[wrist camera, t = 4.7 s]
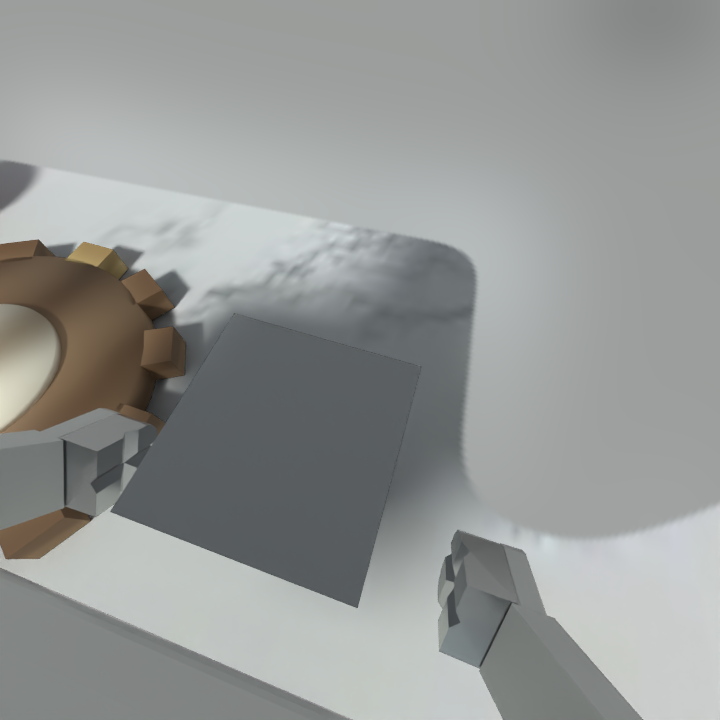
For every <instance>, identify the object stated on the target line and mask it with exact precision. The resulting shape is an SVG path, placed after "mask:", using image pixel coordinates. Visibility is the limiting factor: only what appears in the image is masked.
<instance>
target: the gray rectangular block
mask: <svg viewBox="0 0 720 720" xmlns="http://www.w3.org/2000/svg"><path fill="white" fill-rule="evenodd" d="M420 370H421V366H417V365H414V364H410V363H407V362H403V361H400V360H396V359H393V358H389V357H386V356H382V355H379V354H375V353H372V352H368V351H365V350H361V349H358V348H354V347H351V346H347V345H344V344H340V343H336V342H333V341H329V340H326V339H322V338H319V337H315V336H312V335H308V334H305V333H301V332H298V331H294V330H291V329H287V328H284V327H280V326H277V325H273V324H270V323H266V322H263V321H259V320H256V319H252V318H249V317H245V316H242V315H238V314H234V315H233V316H232V318H231V319H230V321H229V323H228V324H227V326H226V327H225V329H224V331H223V332H222V334H221V335H220V337H219V339H218V340H217V342H216V343H215V345H214V347H213V348H212V350H211V351H210V353H209V355H208V356H207V358H206V359H205V361H204V363H203V364H202V366H201V367H200V369H199V371H198V372H197V374H196V375H195V377H194V379H193V380H192V382H191V383H190V385H189V387H188V388H187V390H186V391H185V393H184V395H183V396H182V398H181V399H180V401H179V403H178V404H177V406H176V407H175V409H174V411H173V412H172V414H171V415H170V417H169V419H168V420H167V422H166V423H165V425H164V427H163V428H162V430H161V431H160V433H159V435H158V436H157V438H156V439H155V441H154V442H153V444H152V446H151V447H150V449H149V450H148V452H147V454H146V455H145V457H144V458H143V460H142V462H141V463H140V465H139V466H138V468H137V470H136V471H135V473H134V474H133V476H132V478H131V479H130V481H129V482H128V484H127V486H126V487H125V489H124V490H123V492H122V494H121V495H120V497H119V498H118V500H117V502H116V503H115V505H114V506H113V508H112V510H111V511H110V512H112V513H115V514H117V515H120V516H122V517H125V518H127V519H130V520H133V521H135V522H138V523H140V524H143V525H145V526H148V527H151V528H153V529H156V530H158V531H161V532H163V533H166V534H168V535H171V536H174V537H176V538H179V539H181V540H184V541H186V542H189V543H192V544H194V545H197V546H199V547H202V548H204V549H207V550H210V551H212V552H215V553H217V554H220V555H222V556H225V557H227V558H230V559H233V560H235V561H238V562H240V563H243V564H245V565H248V566H251V567H253V568H256V569H258V570H261V571H263V572H266V573H268V574H271V575H274V576H276V577H279V578H281V579H284V580H286V581H289V582H292V583H294V584H297V585H299V586H302V587H304V588H307V589H310V590H312V591H315V592H317V593H320V594H322V595H325V596H327V597H330V598H333V599H335V600H338V601H340V602H343V603H345V604H348V605H351V606H353V607H356V608H358V604H359V601H360V597H361V593H362V589H363V585H364V582H365V578H366V574H367V570H368V567H369V563H370V559H371V555H372V551H373V548H374V544H375V540H376V536H377V533H378V529H379V525H380V521H381V517H382V514H383V510H384V506H385V502H386V498H387V495H388V491H389V487H390V483H391V480H392V476H393V472H394V468H395V464H396V461H397V457H398V453H399V449H400V446H401V442H402V438H403V434H404V430H405V427H406V423H407V419H408V415H409V412H410V408H411V404H412V400H413V396H414V393H415V389H416V385H417V381H418V378H419V374H420Z"/></svg>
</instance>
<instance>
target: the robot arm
mask: <svg viewBox="0 0 720 720" xmlns="http://www.w3.org/2000/svg"><path fill="white" fill-rule="evenodd" d="M156 438H157V429H156V428H155V427H154V426H153V425H151V424H149V423H146V422H143V421H140V420H138V419H135V418H132V417H130V416H127V415H124V414H121V413H118V412H116V411H113V410H110V409H107V408H98V409H96V410H93V411H91V412H88V413H86V414H83V415H81V416H78V417H76V418H73V419H71V420H68V421H66V422H63V423H60V424H58V425H55V426H53V427H50V428H48V429H45V430H43V431H40V432H39V431H36V430H29V431H20V432H12V433H3V434H0V530H2V529H5V528H8V527H11V526H14V525H17V524H20V523H22V522H25V521H28V520H31V519H34V518H37V517H40V516H43V515H45V514H48V513H51V512H54V511H57V510H60V509H63V508H64V506H66V507H69V508H71V509H74V510H77V511H80V512H83V513H86V514H88V515H91V516H94V517H97V516H98V515H100V514H101V513H102V512H104V511H105V510H107V509H108V508H109V507H111V506H112V505H114V504H115V503H116V502H117V500H118V498H119V497H120V495H121V494H122V492H123V490H124V489H125V487H126V486H127V484H128V482H129V481H130V479H131V478H132V476H133V474H134V473H135V471H136V470H137V468H138V466H139V465H140V463H141V462H142V460H143V458H144V457H145V455H146V454H147V452H148V450H149V449H150V447H151V446H152V444H153V442H154V441H155V439H156ZM451 551H452V554H451V555H449V556H447V557H445V560H444V563H443V565H442V568H441V573H440V577H439V583H438V602H439V604H440V606H441V607H442V612H441V614H440V617H439V619H438V631H439V652H442V653H444V654H447V655H449V656H451V657H454V658H456V659H458V660H461V661H463V662H465V663H468V664H470V665H472V666H475V667H477V668H479V669H480V670H479V672H480V674H481V676H482V678H483V680H484V682H485V684H486V686H487V688H488V690H489V692H490V694H491V696H492V698H493V700H494V702H495V704H496V706H497V708H498V710H499V712H500V714H501V716H502V718H503V720H643V719H642V718H641V717H640V716H639V714H638V713H637V712H636V711H635V710H634V709H633V708H632V706H631V705H630V704H629V703H628V702H627V701H626V700H625V698H624V697H623V696H622V695H621V694H620V693H619V692H618V690H617V689H616V688H615V687H614V686H613V685H612V684H611V682H610V681H609V680H608V679H607V678H606V677H605V676H604V674H603V673H602V672H601V671H600V670H599V669H598V668H597V666H596V665H595V664H594V663H593V662H592V661H591V660H590V658H589V657H588V656H587V655H586V654H585V653H584V652H583V650H582V649H581V648H580V647H579V646H578V645H577V644H576V642H575V641H574V640H573V639H572V638H571V637H570V636H569V634H568V633H567V632H566V631H565V630H564V629H563V628H562V626H561V625H560V624H559V623H558V622H557V621H556V620H555V618H552V617H550V616H547V614H546V611H545V608H544V606H543V603H542V600H541V597H540V594H539V591H538V588H537V585H536V582H535V580H534V577H533V574H532V571H531V568H530V565H529V562H528V559H527V556H526V554H525V553H524V552H523V550H520V549H517V548H514V547H511V546H508V545H504V544H501V543H500V544H499V543H496V542H493V541H490V540H487V539H484V538H481V537H478V536H475V535H472V534H469V533H466V532H463V531H460V530H457V531H456V533H455V534H454V537H453V539H452V542H451ZM0 720H352V719H350V718H347V717H345V716H343V715H340V714H338V713H336V712H333V711H331V710H329V709H326V708H324V707H322V706H319V705H317V704H315V703H312V702H310V701H308V700H305V699H303V698H301V697H298V696H296V695H294V694H291V693H289V692H287V691H284V690H282V689H280V688H277V687H275V686H273V685H270V684H268V683H266V682H263V681H261V680H259V679H256V678H254V677H252V676H249V675H247V674H245V673H242V672H240V671H238V670H235V669H233V668H231V667H228V666H226V665H224V664H221V663H219V662H217V661H215V660H212V659H210V658H208V657H205V656H203V655H201V654H198V653H196V652H194V651H191V650H189V649H187V648H185V647H182V646H180V645H178V644H175V643H173V642H171V641H168V640H166V639H164V638H161V637H159V636H157V635H154V634H152V633H150V632H148V631H145V630H143V629H141V628H138V627H136V626H134V625H131V624H129V623H127V622H124V621H122V620H120V619H117V618H115V617H113V616H111V615H108V614H106V613H104V612H101V611H99V610H97V609H94V608H92V607H90V606H87V605H85V604H83V603H81V602H78V601H76V600H74V599H71V598H69V597H67V596H64V595H62V594H60V593H57V592H55V591H53V590H50V589H48V588H46V587H43V586H41V585H39V584H36V583H34V582H32V581H30V580H27V579H25V578H23V577H20V576H18V575H16V574H13V573H11V572H9V571H6V570H4V569H2V568H0Z"/></svg>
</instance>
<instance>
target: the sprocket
mask: <svg viewBox="0 0 720 720" xmlns="http://www.w3.org/2000/svg"><path fill="white" fill-rule="evenodd" d="M127 270H128V268H127V267H126V265H125V264H124V263H123V261H122V260H121V259H120V258H119V256H118V255H117V254H116V253H115V251H114V250H112V249H109V248H105V247H101V246H98V245H94V244H90V243H87V242H83V243H82V244H81V245H80V246H79V247H78V248H77V249H76V250H75V251H74V252H73V253H72V254H70V255H69V256H68V257H67V258H62V257H55V256H54V255H53V254H52V253H51V252H50V251H49V250H48V249H47V248H46V247H45V246H44V245H43V243H42V242H41V241H40V240H39V239H38V240H30V241H22V242H14V243H6V244H0V434H3V433H12V432H20V431H29V430H36V431H39V432H40V431H43V430H45V429H48V428H50V427H53V426H55V425H58V424H60V423H63V422H66V421H68V420H71V419H73V418H76V417H78V416H81V415H83V414H86V413H88V412H91V411H93V410H96V409H98V408H107V409H110V410H113V411H116V412H118V413H121V414H124V415H127V416H130V417H132V418H135V419H138V420H140V421H143V422H146V423H149V424H151V425H153V426H154V427H155V428H156V429H157V436H158V435H159V433H160V431H161V430H162V428H163V427H164V425H165V422H163V421H162V420H160V419H159V418H158V417H156V416H155V415H153V414H152V413H149V412H146V411H145V410H146V408H147V406H148V403H149V401H150V399H151V396H152V393H153V389H154V386H155V383H156V380H160V379H165V378H171V377H177V376H183V375H185V349H186V342H185V341H184V340H183V338H182V337H181V336H180V335H179V333H178V332H177V331H176V329H175V328H174V327H173V326H172V327H165V328H159V329H155V328H154V325H153V322H152V320H153V319H155V318H157V317H159V316H161V315H162V314H164V313H166V312H168V311H169V310H171V309H173V308H175V307H174V306H173V305H172V303H171V302H170V300H169V299H168V298H167V296H166V295H165V293H164V292H163V291H162V289H161V288H160V287H159V286H158V284H157V283H156V282H155V281H154V279H153V278H152V277H151V276H150V275H149V273H148V272H147V271H146V270H145V269H143V270H141V271H139V272H138V273H136V274H134V275H132V276H130V277H128V278H126V279H124V280H122V281H120V280H119V279H120V277H121V276H122V275H123V274H124V273H125V272H126V271H127ZM90 521H91V520H90V518H89V516H88V514H86V513H83V512H80V511H77V510H74V509H71V508H69V507H66V506H64V508H63V509H60V510H57V511H54V512H51V513H48V514H45V515H43V516H40V517H37V518H34V519H31V520H28V521H25V522H22V523H20V524H17V525H14V526H11V527H8V528H5V529H2V530H0V545H1V548H2V550H3V553H4V556H5V559H40V558H41V557H42V556H44V555H45V554H46V553H48V552H49V551H50V550H52V549H53V548H55V547H56V546H57V545H59V544H60V543H61V542H63V541H64V540H65V539H67V538H68V537H70V536H71V535H72V534H74V533H75V532H76V531H78V530H79V529H80V528H82V527H83V526H85V525H86V524H87V523H89V522H90Z"/></svg>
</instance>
